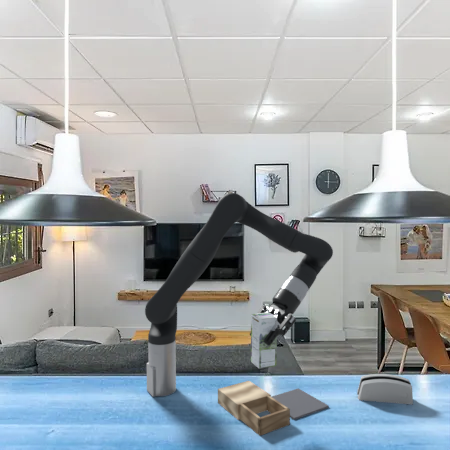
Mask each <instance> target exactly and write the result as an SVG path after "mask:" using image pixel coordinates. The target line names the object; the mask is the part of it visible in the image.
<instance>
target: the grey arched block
mask: <svg viewBox="0 0 450 450" xmlns="http://www.w3.org/2000/svg"><path fill="white" fill-rule="evenodd" d="M356 393H357V394H356V395H357V399H358V401H363V400H364V401H367V402H375V401H376V402H377V403H387V404H388V403H389V404H391V403H392V404H403V405H411V406H412V405H414V399H413V385H412V383H411V381H410V380H409V379H408V378H406V377H403V376H400V375H396V374H395V375H394V374H391V373H390V374H389V373H372V374H365V375H362V376H361V377H360V380H359V384H358V387H357V391H356ZM376 402H375V403H376Z"/></svg>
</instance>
